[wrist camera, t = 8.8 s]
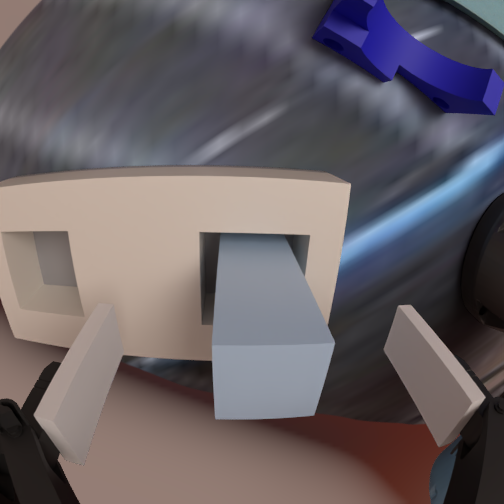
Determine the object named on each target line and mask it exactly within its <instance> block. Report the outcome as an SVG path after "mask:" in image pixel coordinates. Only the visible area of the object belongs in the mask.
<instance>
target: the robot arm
mask: <svg viewBox="0 0 504 504" xmlns="http://www.w3.org/2000/svg"><path fill="white" fill-rule="evenodd" d="M461 293H462V299H463V302H464V305H465V307H466V308H467V310H468V311H469V312H470V313H471V314H472V315H473V316H474V317H475V318H476V319H477V320H478V321H479V322H481V323H482V324H484V325H486V326H488V327H491V328H493V329H496V330H499V331H501V332H504V194H502V195H501V196H500V197H498V198H497V199H496V200H495V201H494V202H493V203H492V205H491V206H490V207H489V208H488V210H487V211H486V212H485V214H484V215H483V217H482V219H481V220H480V222H479V224H478V226H477V228H476V230H475V232H474V234H473V236H472V239H471V241H470V244H469V247H468V250H467V253H466V256H465V260H464V265H463V270H462V278H461ZM384 352H385V353H386V355H387V357H388V358H389V360H390V362H391V363H392V365H393V367H394V368H395V370H396V372H397V373H398V375H399V377H400V378H401V380H402V382H403V384H404V385H405V387H406V389H407V390H408V392H409V394H410V396H411V397H412V399H413V401H414V403H415V404H416V406H417V408H418V410H419V412H420V413H421V415H422V417H423V419H424V421H425V422H426V424H427V426H428V428H429V430H430V432H431V433H432V435H433V437H434V439H435V441H436V443H437V445H438V447H441V446H444V445H446V444H449V443H451V442H453V441H454V440H455V438H456V437H457V436H458V434H459V433H460V436H459V437H458V438H457V439H456V440H455V441H454V442H453V443H452V444H450V445H449V446H448V447H447V448H446V449H445V450H444V451H443V452H442V453H441V454H440V455H439V456H438V457H437V459H436V460H435V462H434V464H433V467H432V470H431V474H430V483H429V492H430V498H431V504H504V392H503V393H502V395H501V396H500V397H495V398H493V397H492V395H491V394H490V393H489V391H488V390H487V389H486V387H485V386H484V385H483V384H482V382H481V381H480V380H479V378H478V377H477V376H475V373H474V372H473V371H472V370H471V368H470V367H469V366H468V364H467V363H466V362H465V361H464V360H462V359H461V358H460V357H458V356H457V355H453V354H452V353H451V352H450V351H449V349H448V348H447V347H446V346H445V344H444V343H443V342H442V341H441V340H440V338H439V337H438V336H437V335H436V334H435V332H434V331H433V330H432V329H431V328H430V326H429V325H428V324H427V323H426V322H425V321H424V320H423V318H422V317H421V316H420V315H419V314H418V313H417V311H416V310H415V309H414V308H413V307H412V306H411V305H399V306H398V308H397V311H396V314H395V317H394V320H393V324H392V327H391V330H390V333H389V335H388V338H387V341H386V344H385V347H384ZM123 353H124V349H123V345H122V341H121V337H120V333H119V328H118V323H117V319H116V314H115V309H114V304H104V303H98V305H97V306H96V308H95V309H94V311H93V312H92V314H91V315H90V317H89V318H88V320H87V322H86V323H85V325H84V326H83V328H82V330H81V331H80V333H79V334H78V336H77V338H76V339H75V341H74V343H73V344H72V346H71V348H70V349H69V351H68V353H67V354H66V356H65V358H64V360H63V361H62V363H59V362H54V361H53V362H52V363H51V364H49V365H48V366H47V367H46V368H45V369H44V370H43V372H42V373H41V375H40V377H39V380H37V382H36V383H35V385H34V388H33V389H32V390H31V392H30V394H29V396H28V398H27V399H26V401H25V403H24V405H23V407H22V409H20V408H19V406H18V405H17V403H16V402H14V401H13V400H11V399H1V400H0V504H80V503H79V501H78V499H77V497H76V496H75V494H74V492H73V490H72V488H71V486H70V484H69V482H68V480H67V478H66V476H65V474H64V471H63V469H62V467H61V465H60V463H59V462H58V460H57V459H58V457H59V453H60V454H61V455H62V456H63V457H64V459H65V460H66V461H69V462H73V463H76V464H80V465H84V464H85V461H86V458H87V454H88V451H89V448H90V445H91V442H92V438H93V436H94V433H95V429H96V427H97V424H98V421H99V418H100V415H101V412H102V409H103V406H104V403H105V400H106V398H107V395H108V392H109V390H110V386H111V384H112V382H113V379H114V376H115V373H116V371H117V368H118V366H119V363H120V361H121V358H122V356H123Z"/></svg>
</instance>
